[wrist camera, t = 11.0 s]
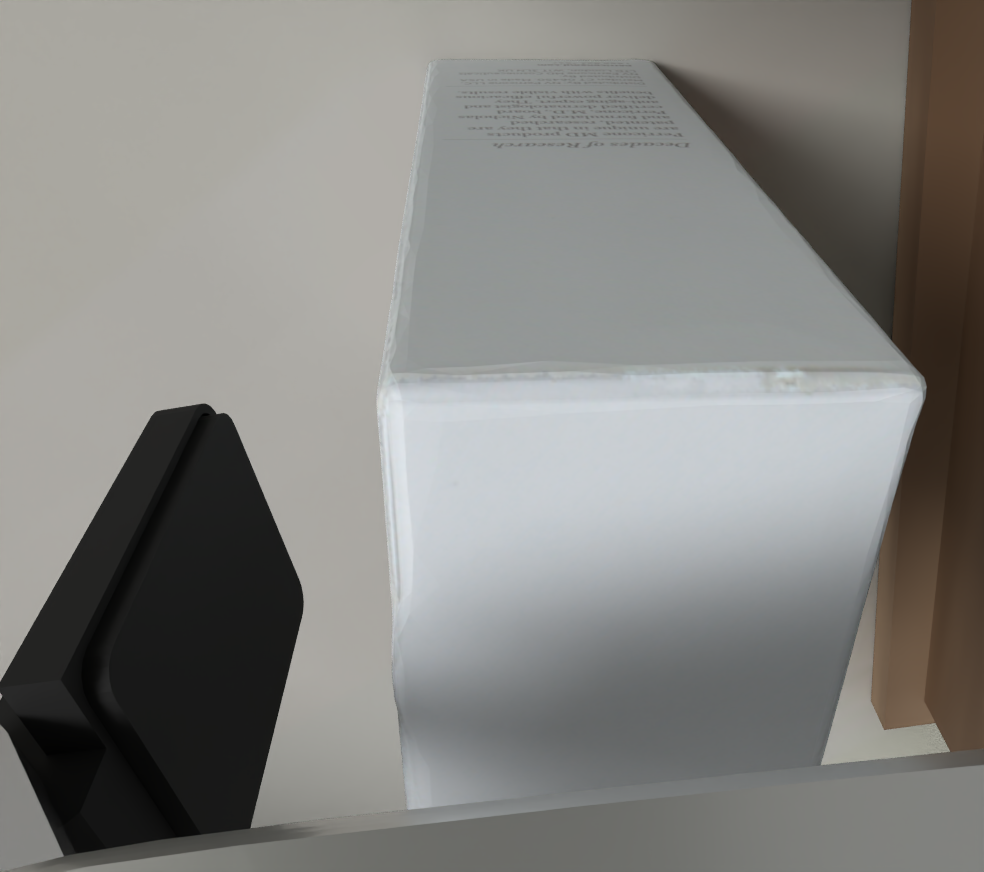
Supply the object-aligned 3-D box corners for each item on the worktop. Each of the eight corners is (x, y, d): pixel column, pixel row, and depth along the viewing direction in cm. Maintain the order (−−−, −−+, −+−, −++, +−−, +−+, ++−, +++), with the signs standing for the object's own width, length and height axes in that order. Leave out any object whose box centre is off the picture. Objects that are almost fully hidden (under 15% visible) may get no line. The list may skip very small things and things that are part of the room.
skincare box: (634, 347, 20) (800, 876, 10) (435, 349, 20) (399, 883, 10) (662, 45, 16) (957, 380, 6) (423, 46, 16) (348, 387, 6)
